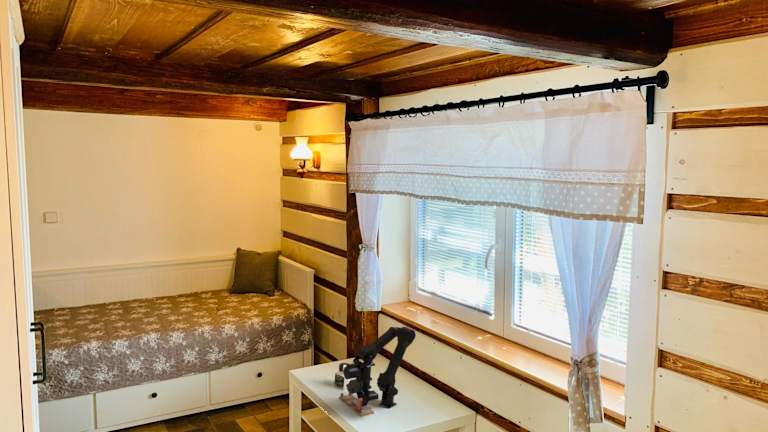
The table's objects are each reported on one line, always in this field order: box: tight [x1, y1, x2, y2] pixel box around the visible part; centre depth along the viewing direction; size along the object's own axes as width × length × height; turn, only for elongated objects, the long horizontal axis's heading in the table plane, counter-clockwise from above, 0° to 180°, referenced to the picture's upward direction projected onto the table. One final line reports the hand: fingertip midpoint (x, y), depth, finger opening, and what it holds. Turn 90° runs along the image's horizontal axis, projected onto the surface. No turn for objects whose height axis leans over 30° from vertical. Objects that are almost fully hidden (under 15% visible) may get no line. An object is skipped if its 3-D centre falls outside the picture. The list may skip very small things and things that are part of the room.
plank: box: [338, 392, 375, 417], centre depth 269 cm, size 22×7×4 cm, turn 33°
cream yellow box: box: [334, 362, 355, 391], centre depth 292 cm, size 7×7×12 cm
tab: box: [351, 398, 369, 410], centre depth 267 cm, size 10×4×4 cm, turn 33°
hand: (362, 406), depth 264 cm, fingers closed on tab, 3 cm apart
